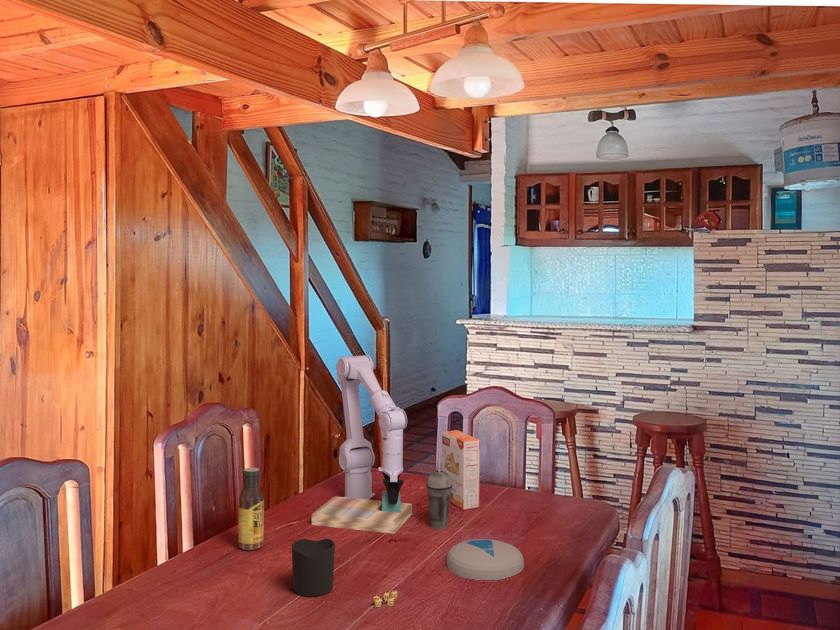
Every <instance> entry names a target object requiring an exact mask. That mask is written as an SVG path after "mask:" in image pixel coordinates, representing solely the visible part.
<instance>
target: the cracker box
mask: <svg viewBox="0 0 840 630" xmlns="http://www.w3.org/2000/svg"><path fill="white" fill-rule="evenodd" d="M441 434H442V436H441V438H442V440H441V441H442V442H441V443H442V444H441V447H442V448H441V449H442V452H441V455H442V456H441V459H442V460H441V462H442V463H441V471H444V472H446V473H447V474H448V475H449V476H450V478H451V481H452V486H453V487H452V491H451V494H450V503H451V504H453V505H455V506H456V507H457V508H459V509H461V510H462V511H466V510H468V511H469V510H473V509H479V508H480V463H481V462H480V461H481V459H480V458H481V457H480V456H481V452H480V451H481V450H480V449H481V443H480V441H481V440H480V439H478V438H476V437H474V436H472V435H470V434H468V433H465V432H463V431H462V430H459V429H457V430H456V429H454V430H445V431H442V432H441Z"/></svg>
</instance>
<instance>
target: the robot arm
mask: <svg viewBox="0 0 840 630" xmlns="http://www.w3.org/2000/svg"><path fill="white" fill-rule="evenodd" d="M374 367H375V366H374V362H373V359H372V358H371V356H370V355H368V354H364V355H356V356H355V355H353V356H351V355H350V356H340V357H339V358H338V360H337V362H336V364H335V370H336V377H337V378H336V379H337V384H338V385H340V387H341V397H342V398H341V399H342V406H343V414H344V423H345V424H344V425H345V432H346V440H345V441H344V442H343V443H342V444H341V445H340V446H339V457H338V463H339V466H340V468H341V470H342V471H343V472H344V473H345V474H344V496H343V497H346V498H356V499H366V500H371V499H372V498H373V497H374V496H375V494H376V493H375V492H372V491H373V488H372V487H373V474H372V472H371V471H372V467H373V466H374V465H375V462H376V461H375V460H376V456H375V452H374V450H373V446H372V442H371V441H369V440H368V439H366V438H365V436H364V430H363V429H364V428H363V427H364V426H363V420H362V411H361V403H360V402H361V401H360V394H359V393H360V392H359V386H360V384H362V385H363V387H364V388H365V389H366V390H367V392H368V394H369V395H370V399H369V401H370V404H371V407H372V408H373V409H374V411H375V412H376V415H377V416H378V425H379V428H380V436H381V437H382V466H379V467H378V468H377V470H378V472H381V473H382V476H383V477H384V478H382V479H383V480H382V481H383V485H384V487H385V489H386V490H385V491H387V494H388V501H389V504H397V501H398V496H399V491H401V488H402V486H403V485H404V479H400V477H401V475H402V473H403V472H404V466H403V465H404V463H403V461H404V460H403V459H404V450H403V449H404V430H405V429H406V428H407V426H408V425H407V424H408V418H407V413H406V411H405V410H404V409H403V408H400V407H399V406H397V405H396V404H395V402H394V401H393V399H392V397H391V396H390V394H389V393H388V391H386V390H384V389H383V390H382V388H381V385H380V383H379V381H378V379H377V377H376V375H375V373H374Z"/></svg>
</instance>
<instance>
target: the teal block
mask: <svg viewBox="0 0 840 630" xmlns="http://www.w3.org/2000/svg"><path fill="white" fill-rule="evenodd" d="M400 491H401V490H400ZM400 491H399V496H398V501H397V504H389V501H388V494H387V490H381V501H382V511H387V512H397V513H400V503H401V493H400Z"/></svg>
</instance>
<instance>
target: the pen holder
mask: <svg viewBox="0 0 840 630" xmlns="http://www.w3.org/2000/svg"><path fill="white" fill-rule="evenodd" d="M335 546H336V543H335V541H334V540H332V539H330V538H322V539H319V540H313V539H309V538H308V539H307V538H299V539H297V540H295V541H293V542H292V544H291V563H292V569H291V570H292V586H293V591H294V592H295V593H296V594H297V595H298V596H301V597H308V598H310V597H311V598H312V597H313V598H314V597H320V596H325V595H327V594H329V593H330V592H331V591H332V590H333V587H334V578H335V576H334V574H335V553H336V552H335V551H336V550H335V548H336V547H335Z"/></svg>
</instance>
